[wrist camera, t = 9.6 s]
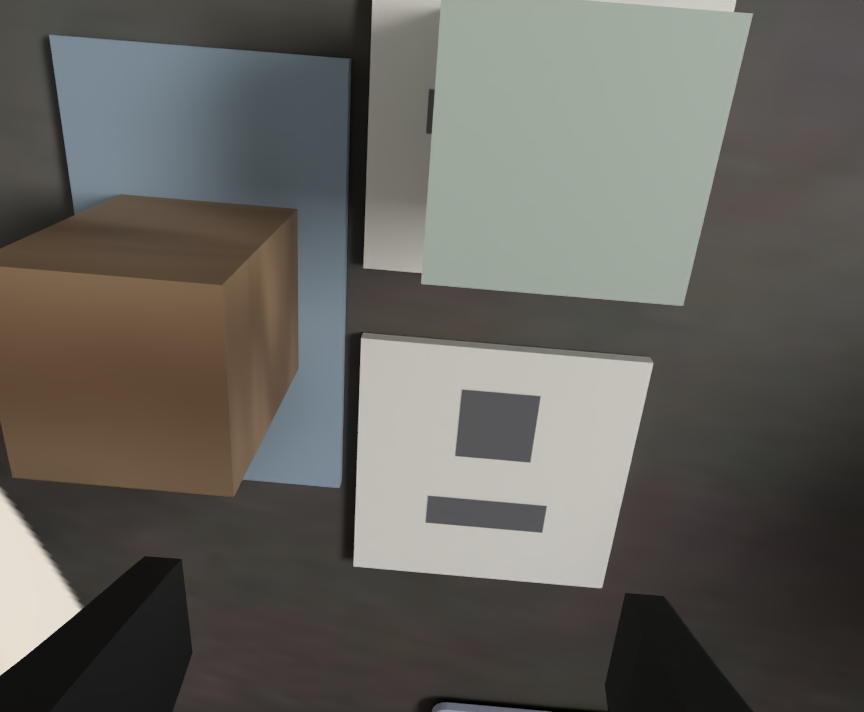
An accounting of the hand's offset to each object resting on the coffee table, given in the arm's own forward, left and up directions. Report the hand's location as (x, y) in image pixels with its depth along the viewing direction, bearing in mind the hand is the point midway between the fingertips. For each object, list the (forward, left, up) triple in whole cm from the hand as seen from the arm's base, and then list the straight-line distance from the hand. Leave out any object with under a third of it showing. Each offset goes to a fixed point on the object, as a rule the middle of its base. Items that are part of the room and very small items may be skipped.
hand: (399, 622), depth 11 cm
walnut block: (+2, +6, -9) cm, 11 cm away
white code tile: (-3, -2, -9) cm, 10 cm away
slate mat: (+2, +6, -9) cm, 11 cm away
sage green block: (+7, -2, -9) cm, 12 cm away
